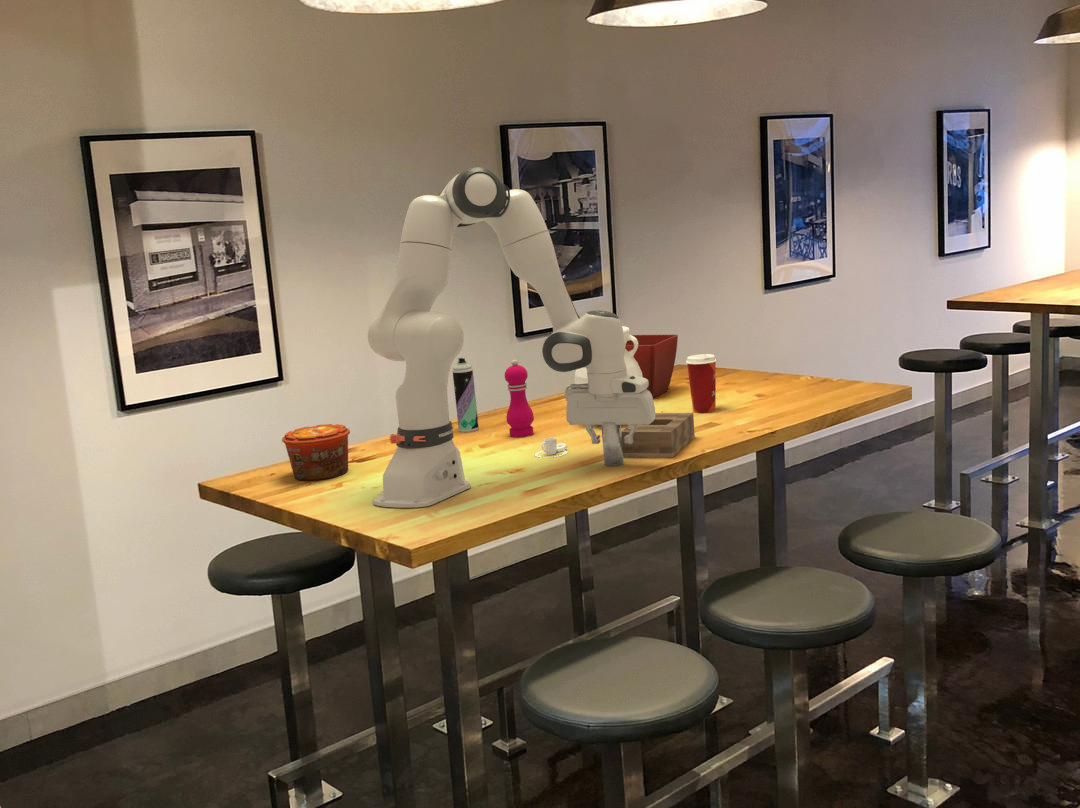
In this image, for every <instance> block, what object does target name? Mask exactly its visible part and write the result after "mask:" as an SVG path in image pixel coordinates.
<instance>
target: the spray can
mask: <svg viewBox="0 0 1080 808" xmlns="http://www.w3.org/2000/svg"><path fill="white" fill-rule="evenodd" d="M457 359H458V361H457V363H456V364H455V366H453V367H452V378H453V380H452V381H453V388H454V390H453V391H454V397H455V406H456V407H455V408H456V416H457V425H458V432H460V433H472V432H476V430H477V431H479V418H478V409H477V407H478V406H477V399H476V388H475V378H474V369H473V365H470V364H469V363H468V361H466V360H465V357H458V358H457Z"/></svg>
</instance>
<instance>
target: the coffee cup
mask: <svg viewBox="0 0 1080 808" xmlns="http://www.w3.org/2000/svg"><path fill="white" fill-rule="evenodd" d="M717 361H718V360H717V359H716V356H715V354H712V353H702V354H701V353H700V354H693V355H689V356H687V358H686V361H685V363H686V364H687V372H688V380H689V389H690V398H691V405H692V406H691V407H692V411H693V412H692V413H696V414H707V413H709V414H710V413H713V412H715V411H716V404H717V403H716V399H717V398H716V397H717V395H716V392H717V391H716V386H717V385H716V384H717V383H716V375H717V374H716V369H717V367H716V365H717V364H716V362H717Z"/></svg>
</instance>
